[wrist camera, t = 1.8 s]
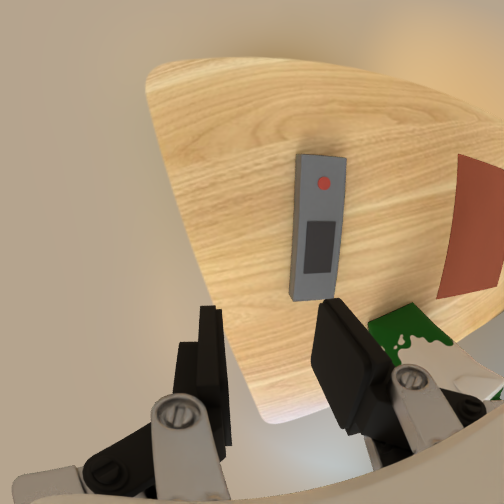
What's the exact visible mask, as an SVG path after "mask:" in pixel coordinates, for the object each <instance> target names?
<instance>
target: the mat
mask: <svg viewBox="0 0 504 504" xmlns="http://www.w3.org/2000/svg"><path fill="white" fill-rule="evenodd" d="M503 261H504V170H503V169H501V168H498V167H496V166H493V165H490V164H487V163H485V162H482V161H479V160H476V159H473V158H470V157H467V156H464V155H461V154H458V170H457V185H456V196H455V205H454V213H453V221H452V228H451V234H450V240H449V245H448V251H447V256H446V260H445V265H444V270H443V274H442V278H441V282H440V286H439V290H438V294H437V297H436V299H441V298H446V297H451V296H456V295H461V294H466V293H470V292H475V291H480V290H484V289H488V288H493V287H497V284H498V281H499V277H500V273H501V269H502V265H503Z"/></svg>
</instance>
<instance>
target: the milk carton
mask: <svg viewBox="0 0 504 504" xmlns="http://www.w3.org/2000/svg"><path fill="white" fill-rule="evenodd" d="M368 332H369V333H370V334H371V335H372V336H373V338H374V339H375V340H376V341H377V342H378V344H379V345H380V346H381V347H382V348H383V350H384V351H385V352H386V353H387V354H388V356H389V357H390V358H391V359H392V363H393V364H394V365H395V367H397V366H399V365H402V364H415V365H418V366H420V367H422V368H424V369H425V370H427V371H428V372H429V373H430V375H431V376H432V378H433V379H434V381H435V382H436V384H437V385H438V387H439V388H443V389H447V390H451V391H455V392H459V393H463V394H467V395H471V396H474V397H477V398H478V399H480V400H481V401H482V402H483V400H501V399H500V395H501V394H500V393H501V392H502V390H503V386H504V377H502V376H500V375H498V374H497V373H495V372H493V371H491V370H489V369H487V368H486V367H484V366H482V365H480V364H479V363H478V362H476V361H475V360H474V359H473V358H472V357H471V356H470V355H469V354H468V353H466V352H465V351H464V350H463V349H462V348H461V347H460V346H459V345H458V344H457V343H455V342H454V341H453V340H452V339H451V338H450V337H449V336H448V335H446V334H445V333H444V332H443V331H442V330H441V329H440V328H438V327H437V326H436V325H435V324H434V323H433V322H432V321H431V320H430V319H429V318H428V317H427V316H426V315H425V314H424V313H423V312H422V311H421V310H420V309H419V308H418V307H417V306H416V305H415V304H414V303H413V302H412V303H410V304H408V305H406V306H404V307H402V308H400V309H397V310H395V311H393V312H391V313H389V314H386V315H384V316H382V317H380V318H377V319H375V320H373V321H370V322H368Z"/></svg>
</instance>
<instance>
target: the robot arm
mask: <svg viewBox="0 0 504 504" xmlns="http://www.w3.org/2000/svg"><path fill="white" fill-rule="evenodd" d="M311 366H312V369H313V371H314V373H315V375H316V377H317V379H318V381H319V384H320V386H321V388H322V390H323V392H324V394H325V396H326V399H327V401H328V403H329V405H330V407H331V409H332V411H333V413H334V416H335V418H336V420H337V422H338V424H339V426H340V428H341V429H345V430H346V432H347V434H348V436H349V435H354V434H357V433H361V435H364V440H365V443H366V447H367V450H368V453H369V457H370V460H371V463H372V467H373V470H374V471H373V472H370V473H368V474H365V475H362V476H359V477H355V478H352V479H349V480H345V481H342V482H339V483H335V484H331V485H327V486H323V487H319V488H315V489H310V490H306V491H300V492H295V493H290V494H284V495H277V496H270V497H263V498H255V499H244V500H231V498H230V494H229V492H228V488H227V485H226V481H225V479H224V475H223V471H222V468H221V465H220V462H221V461H222V460H223V459H224V458H225V457H226V449H225V446H232V438H231V424H230V408H229V391H228V378H227V367H226V356H225V345H224V332H223V319H222V309H216V305H214V306H200V319H199V336H198V342H180V343H179V348H178V355H177V362H176V370H175V378H174V386H173V394H170V395H167V396H164V397H162V398H161V399H159V400H158V401H157V402H155V404H154V406H153V407H152V410H151V422H150V423H149V424H147V425H145V426H144V427H142V428H140V429H139V430H137V431H135V432H134V433H132V434H130V435H129V436H127V437H125V438H124V439H122V440H120V441H118V442H117V443H115V444H113V445H112V446H110V447H108V448H106V449H104V450H102V451H100V452H99V453H97V454H95V455H93V456H92V457H91V458H89V459H88V460H87V461H86V463H85V465H84V466H83V467H79V468H76V466H75V465H72V466H68V467H64V468H59V469H54V470H49V471H43V472H37V473H30V474H24V475H21V476H18V477H17V478H16V479H15V480H14V482H13V485H12V496H13V500H14V504H504V400H483V402H482V401H481V400H480V399H478V398H477V397H474V396H471V395H467V394H463V393H459V392H455V391H451V390H447V389H443V388H439V387H438V385H437V384H436V382H435V381H434V379H433V378H432V376H431V375H430V373H429V372H428V371H427V370H425V369H424V368H422V367H420V366H418V365H415V364H402V365H399V366H397V367H395V365H394V364H393V363H392V359H391V358H390V357H389V356H388V354H387V353H386V352H385V351H384V350H383V348H382V347H381V346H380V345H379V344H378V342H377V341H376V340H375V339H374V338H373V336H372V335H371V334H370V333H369V332H368V330H367V329H366V328H365V327H364V326H363V324H362V323H361V322H360V321H359V320H358V319H357V317H356V316H355V315H354V314H353V313H352V312H351V310H350V309H349V308H348V307H347V306H346V305H345V303H344V302H343V301H342V300H341V299H340V298H332V299H325V300H324V301H323V303H320V304H319V308H318V315H317V322H316V329H315V336H314V342H313V348H312V354H311Z"/></svg>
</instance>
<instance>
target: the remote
mask: <svg viewBox="0 0 504 504" xmlns="http://www.w3.org/2000/svg"><path fill="white" fill-rule="evenodd" d="M346 160H347V159H346V158H343V157H333V156H322V155H309V154H296V166H295V196H294V218H293V238H292V255H291V270H290V285H289V295H290V297H291V299H292V300H293V302H295V301H309V300H321V299H332V298H334V292H335V285H336V278H337V270H338V262H339V254H340V244H341V235H342V224H343V212H344V198H345V182H346Z"/></svg>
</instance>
